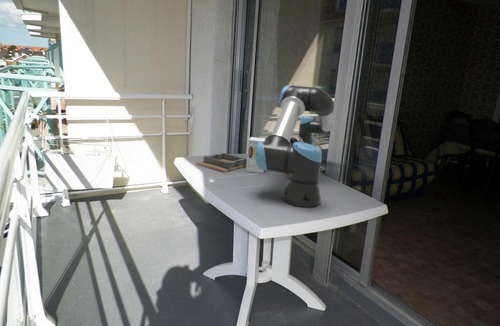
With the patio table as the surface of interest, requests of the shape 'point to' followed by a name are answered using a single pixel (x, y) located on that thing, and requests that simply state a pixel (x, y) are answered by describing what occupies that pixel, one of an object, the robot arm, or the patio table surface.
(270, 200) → the patio table surface
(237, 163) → the tub holder
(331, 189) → the patio table surface
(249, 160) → the supplement box
